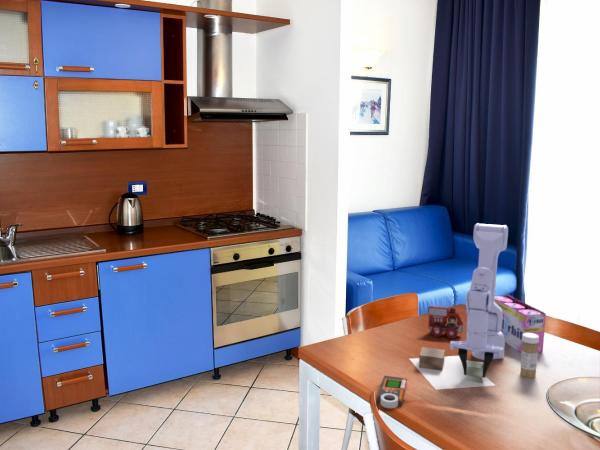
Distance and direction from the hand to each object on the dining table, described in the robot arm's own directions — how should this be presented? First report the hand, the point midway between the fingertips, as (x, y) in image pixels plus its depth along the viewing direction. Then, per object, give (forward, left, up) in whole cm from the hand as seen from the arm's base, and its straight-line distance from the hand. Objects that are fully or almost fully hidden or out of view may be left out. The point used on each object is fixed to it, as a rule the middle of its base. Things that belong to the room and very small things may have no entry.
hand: (474, 374), depth 164 cm
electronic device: (+27, +5, -3) cm, 27 cm away
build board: (+5, -6, -2) cm, 8 cm away
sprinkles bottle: (-17, 0, -2) cm, 17 cm away
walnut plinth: (+8, -11, -1) cm, 14 cm away
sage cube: (0, 0, -1) cm, 1 cm away
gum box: (-29, -29, -2) cm, 41 cm away
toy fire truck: (-7, -38, -2) cm, 39 cm away
